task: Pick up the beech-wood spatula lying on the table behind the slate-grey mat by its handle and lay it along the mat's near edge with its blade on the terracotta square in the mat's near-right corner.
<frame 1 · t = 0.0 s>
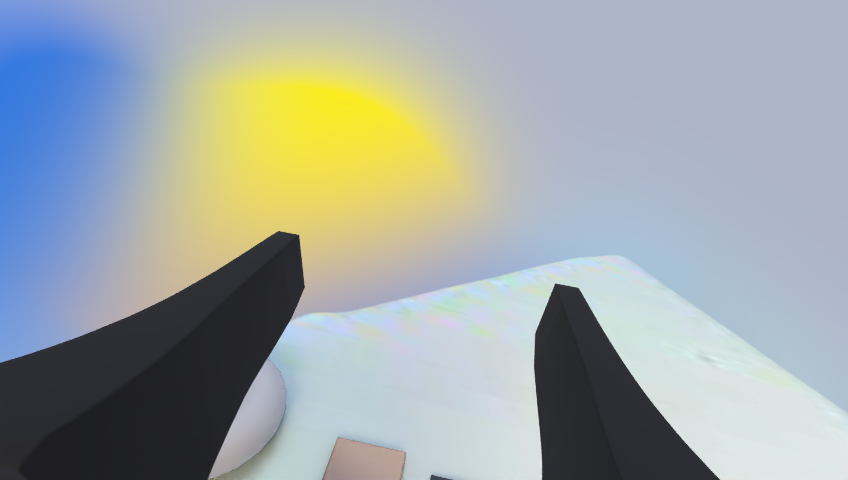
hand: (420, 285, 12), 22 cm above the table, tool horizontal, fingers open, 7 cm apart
donut: (216, 422, 31), on the table
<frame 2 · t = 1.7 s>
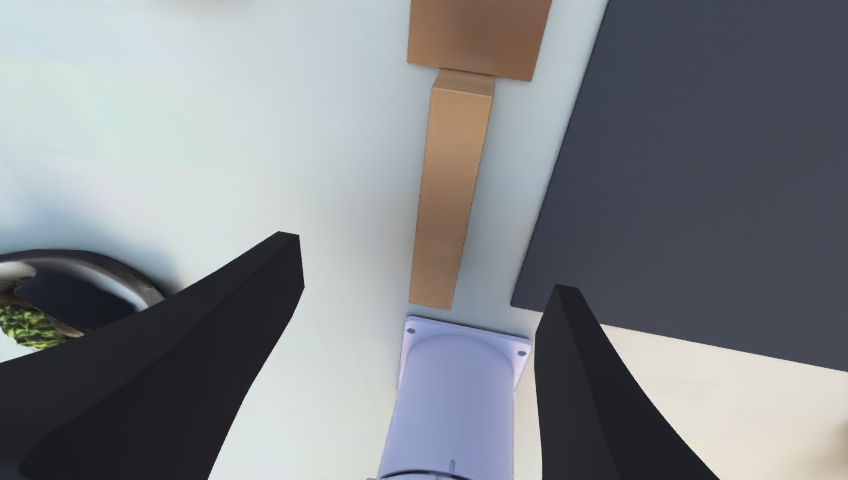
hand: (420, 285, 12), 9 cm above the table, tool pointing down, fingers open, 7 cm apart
corner mat: (795, 193, 18), on the table
spatula: (461, 116, 18), on the table
salad plate: (116, 321, 33), on the table
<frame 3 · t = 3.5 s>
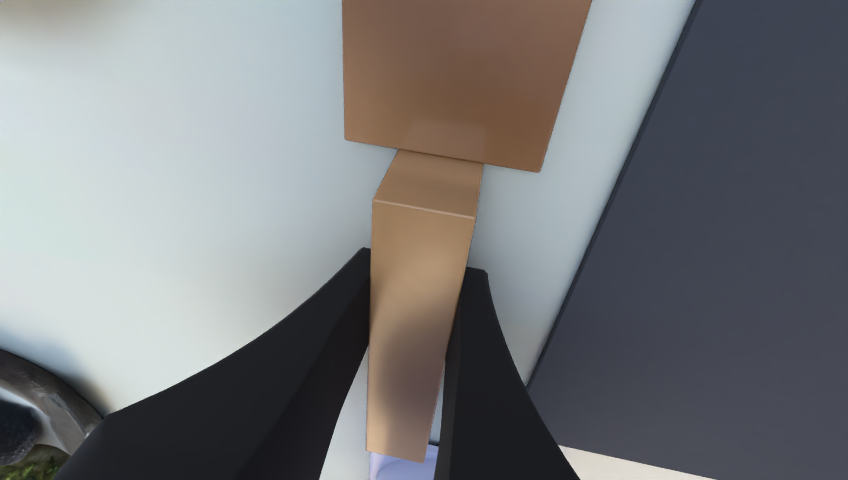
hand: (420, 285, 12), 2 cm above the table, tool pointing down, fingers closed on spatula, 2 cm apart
spatula: (434, 210, 12), on the table, touching gripper
salad plate: (26, 410, 27), on the table
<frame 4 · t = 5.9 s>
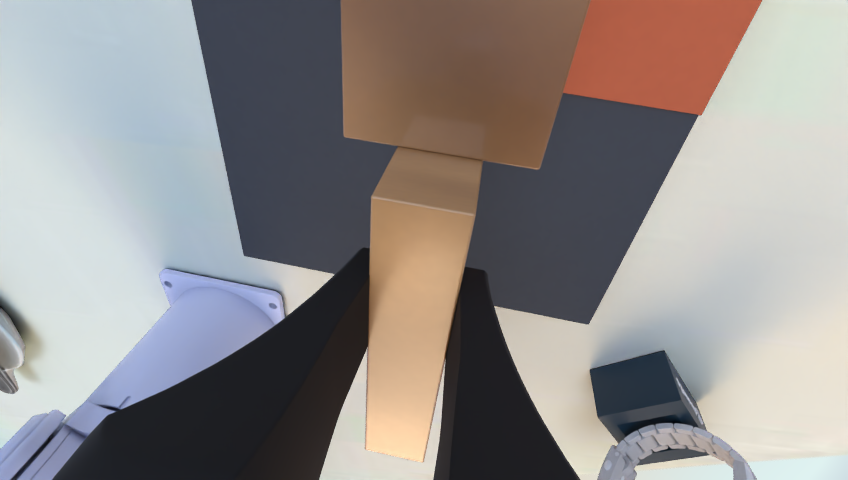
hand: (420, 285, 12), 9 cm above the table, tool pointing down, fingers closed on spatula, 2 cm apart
watch: (643, 383, 26), on the table
corner mat: (431, 128, 18), on the table
spatula: (434, 208, 12), point 7 cm above the table, touching gripper
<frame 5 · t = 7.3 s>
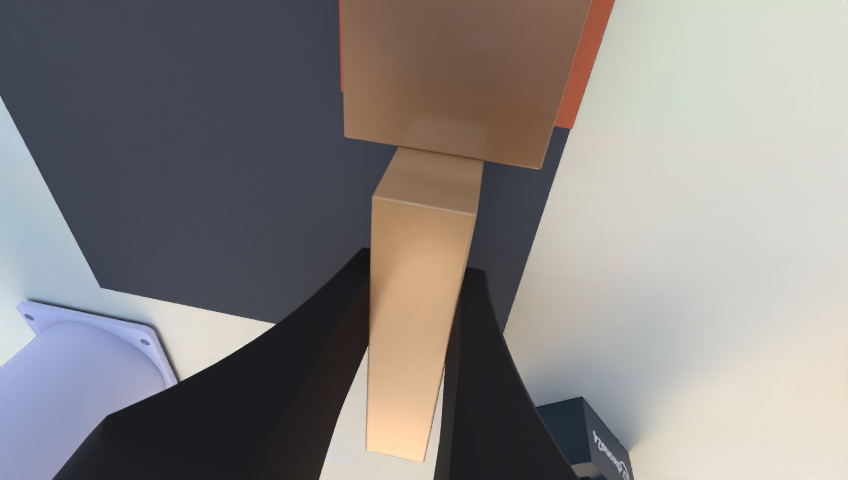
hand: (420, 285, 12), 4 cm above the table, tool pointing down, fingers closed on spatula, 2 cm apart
watch: (567, 430, 22), on the table
corner mat: (265, 145, 15), on the table
spatula: (434, 208, 12), point 3 cm above the table, touching gripper
when the fingers open (2 cm above the table, at t = 8.2 s): spatula stays where it is, resting on corner mat.
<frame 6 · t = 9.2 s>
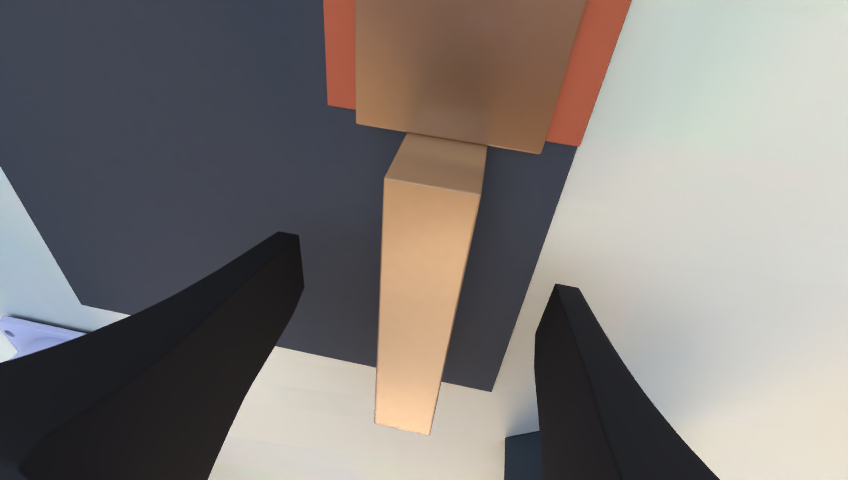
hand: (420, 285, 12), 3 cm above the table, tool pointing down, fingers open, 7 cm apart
watch: (571, 453, 21), on the table
corner mat: (249, 160, 14), on the table
spatula: (440, 192, 13), resting on corner mat
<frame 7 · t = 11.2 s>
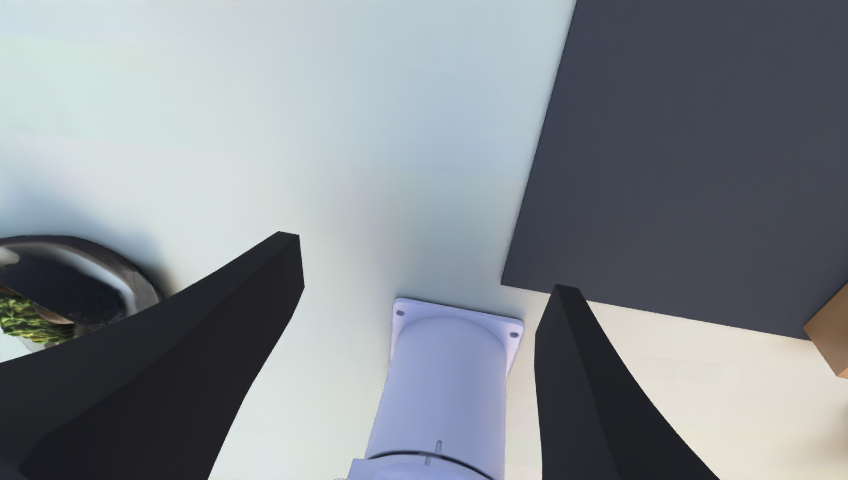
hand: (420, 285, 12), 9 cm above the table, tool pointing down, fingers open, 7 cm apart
corner mat: (792, 155, 17), on the table
salad plate: (104, 310, 33), on the table
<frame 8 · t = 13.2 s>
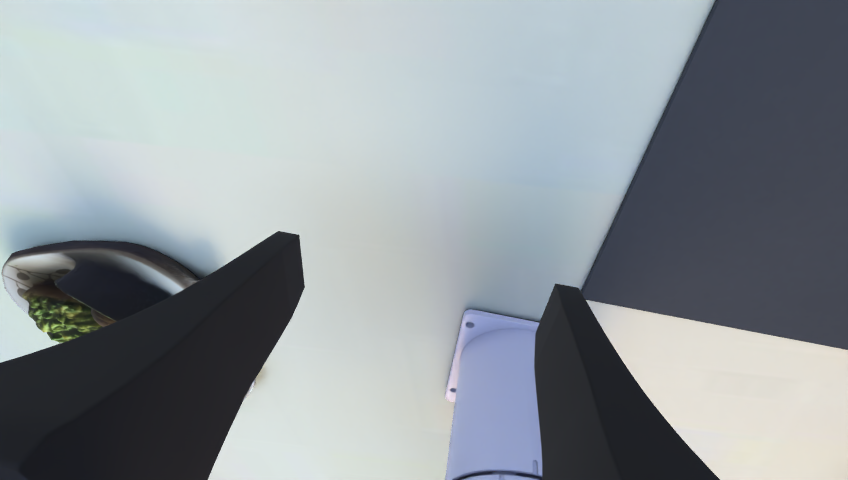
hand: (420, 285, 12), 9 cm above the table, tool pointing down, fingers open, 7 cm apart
salad plate: (152, 317, 32), on the table
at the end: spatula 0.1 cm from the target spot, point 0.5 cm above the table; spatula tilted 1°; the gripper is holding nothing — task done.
